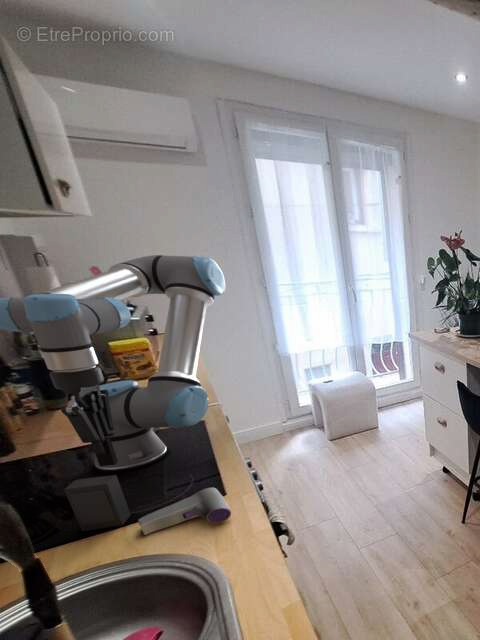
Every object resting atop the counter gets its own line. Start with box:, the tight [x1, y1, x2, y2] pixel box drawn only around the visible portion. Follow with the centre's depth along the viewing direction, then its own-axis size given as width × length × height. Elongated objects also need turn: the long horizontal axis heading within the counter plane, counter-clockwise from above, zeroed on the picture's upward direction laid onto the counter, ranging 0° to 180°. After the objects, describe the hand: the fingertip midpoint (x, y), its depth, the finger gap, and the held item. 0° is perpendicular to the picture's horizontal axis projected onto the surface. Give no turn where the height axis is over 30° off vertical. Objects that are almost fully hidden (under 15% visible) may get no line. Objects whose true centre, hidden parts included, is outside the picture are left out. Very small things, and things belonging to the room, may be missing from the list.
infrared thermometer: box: [137, 487, 232, 536], centre depth 94 cm, size 5×12×15 cm
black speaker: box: [63, 474, 132, 533], centre depth 91 cm, size 4×7×11 cm, turn 112°
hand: (109, 464), depth 96 cm, fingers closed
